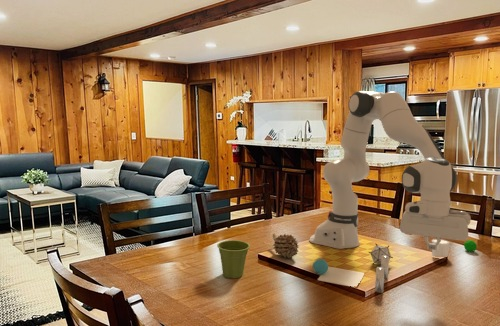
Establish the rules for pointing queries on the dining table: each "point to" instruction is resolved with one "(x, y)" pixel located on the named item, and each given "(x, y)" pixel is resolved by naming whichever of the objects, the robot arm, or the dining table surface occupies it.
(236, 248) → the plant pot
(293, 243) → the pine cone
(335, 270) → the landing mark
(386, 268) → the post
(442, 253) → the white cylinder
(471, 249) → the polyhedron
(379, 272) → the post
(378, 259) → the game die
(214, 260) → the dining table surface
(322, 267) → the ball
